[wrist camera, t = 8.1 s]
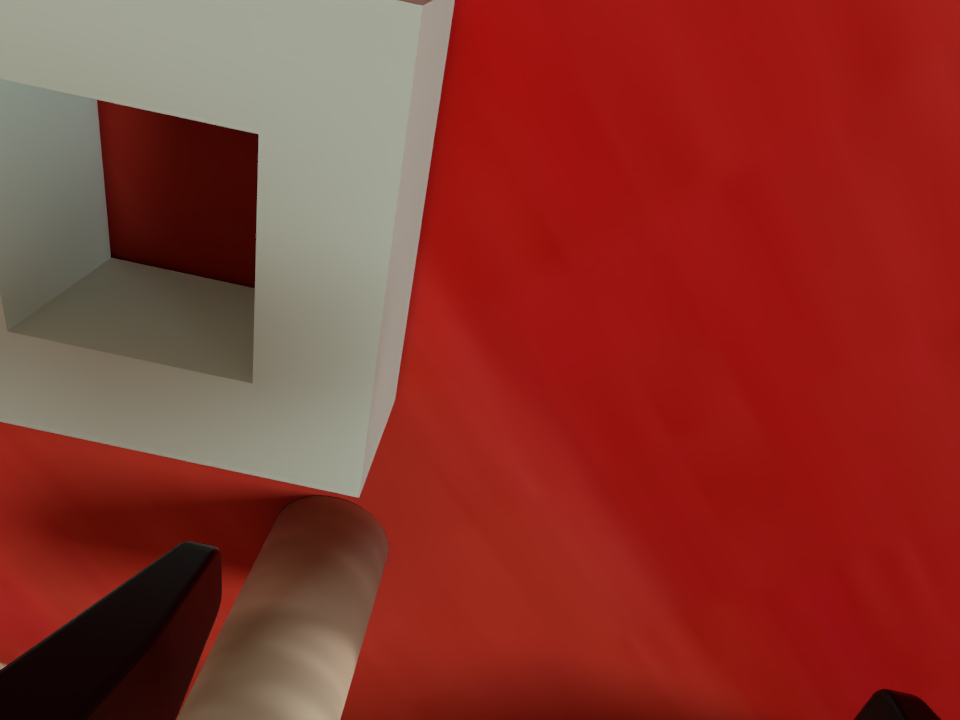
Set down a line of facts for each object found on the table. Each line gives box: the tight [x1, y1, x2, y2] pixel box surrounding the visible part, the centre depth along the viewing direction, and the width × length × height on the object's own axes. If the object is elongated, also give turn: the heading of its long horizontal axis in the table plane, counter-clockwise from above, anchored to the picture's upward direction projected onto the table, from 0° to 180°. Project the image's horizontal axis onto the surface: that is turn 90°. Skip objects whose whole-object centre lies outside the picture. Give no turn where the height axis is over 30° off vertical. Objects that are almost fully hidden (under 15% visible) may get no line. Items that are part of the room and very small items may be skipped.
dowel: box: [177, 496, 389, 720], centre depth 21 cm, size 4×4×9 cm
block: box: [0, 0, 455, 498], centre depth 17 cm, size 11×11×4 cm
